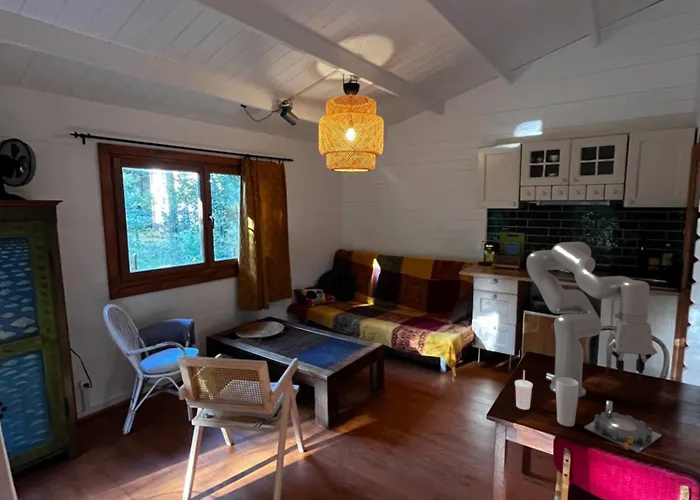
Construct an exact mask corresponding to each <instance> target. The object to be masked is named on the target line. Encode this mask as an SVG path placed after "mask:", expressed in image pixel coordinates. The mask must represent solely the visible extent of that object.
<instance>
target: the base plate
mask: <svg viewBox="0 0 700 500" xmlns="http://www.w3.org/2000/svg"><path fill="white" fill-rule="evenodd" d="M583 428H584V429H585V430H587V431H590V432H591V433H594V434H596V435H598V436H601V437H602V438H604V439H607V440H609V441H611V442H614V443H616V444H618V445H619V446H620V445H621V446H622V447H624V449H625V450H632V451H633V452H636V453H641V452H642V451H643V450H645V449H646V448H647V447H649V446H650V445H651V444H653V443H655V442H656V441H658V439H660V438H662V437H663V436H662V434H661V433H659V432H658V433H657V432H655V431H653V430H652V434H653V437H652V441H648V440H647V441H646V444H641V443H634V442H633V444H629V443H628V442H626V441H622V440H619V439H617V440H615V439H612V437H611V436H609V435H607V434H602V433H601V432H599V430H600V429H599V428H598V427H595V426H594V421H592V422H590V423H589V424H586V425H584V427H583Z"/></svg>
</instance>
